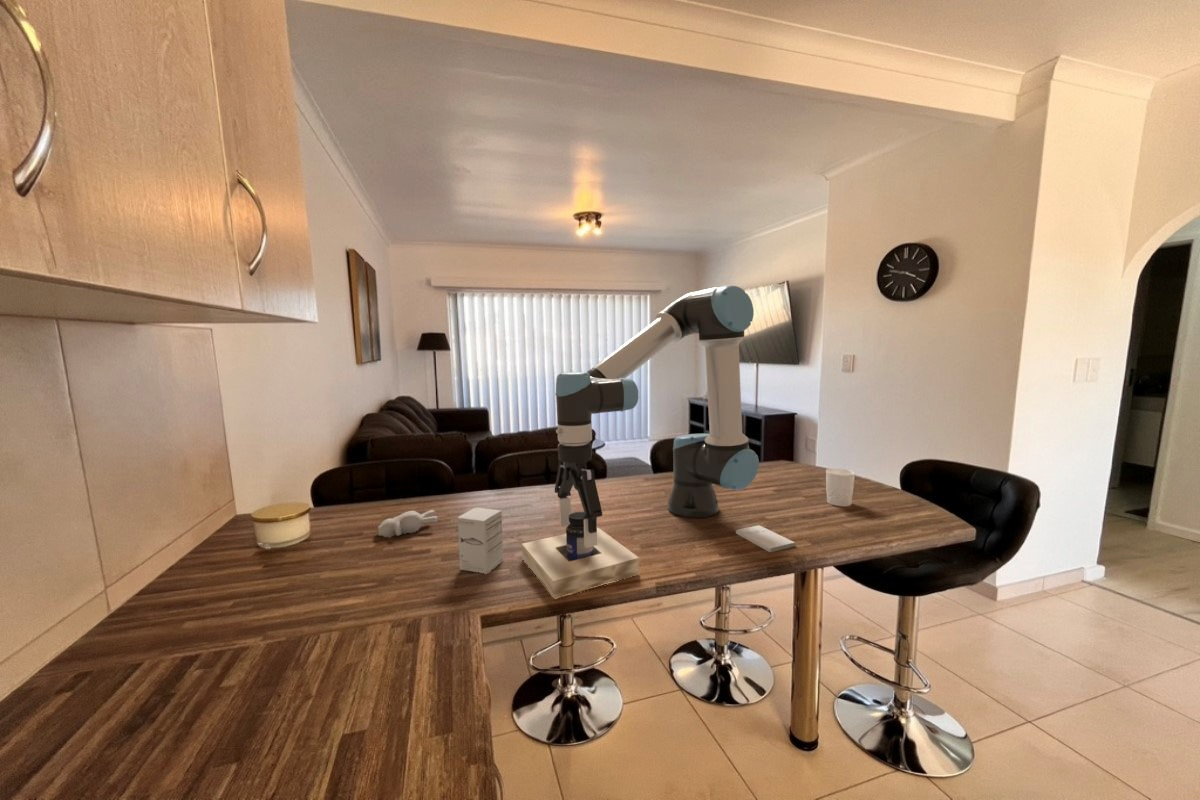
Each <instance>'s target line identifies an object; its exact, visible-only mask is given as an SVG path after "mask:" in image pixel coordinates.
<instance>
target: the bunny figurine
mask: <svg viewBox="0 0 1200 800" xmlns="http://www.w3.org/2000/svg"><path fill="white" fill-rule="evenodd" d="M435 514H436V511H435V509H429V510H428V511H425V512H424V513H420V512H417V511H416V510H409V511H405V512H402V513H401V514H400V515H398V516H397V515H396V516H394V517H393V518H390V517H389V518H386V519H384V520H383V521H382V522H381V523H380V525H378V526H377V531H378V532H377V533H378V536H379V537H383V538H386V537H389V538H391V537H390V536H393V537H394V536H397V537H398V536H401V535H403V534H404V535H407V534H406V533H410V534H412V533H417V532H418V531H419V530H420V529H421V527H422V525H423V524H434V523H436V522H438V516H437V515H435ZM416 531H417V532H416Z"/></svg>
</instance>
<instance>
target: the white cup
mask: <svg viewBox="0 0 1200 800" xmlns="http://www.w3.org/2000/svg"><path fill="white" fill-rule="evenodd" d="M855 476H856V473H855V472H854V471H853V470H849V469H846V468H834V467H833V468H832V467H831V468H827V469H825V487H826V489H825V490H826V502H827V503H828V504H829V505H832V506H836V507H850V506H851V505H852V501H853V494H854V489H855V488H854V486H855Z"/></svg>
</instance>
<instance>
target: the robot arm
mask: <svg viewBox="0 0 1200 800" xmlns="http://www.w3.org/2000/svg"><path fill="white" fill-rule="evenodd" d="M754 310H755V309H754V305H753V302H752V300H751V297H750V296H749V294H748V293H747V292H746V291H745V289H743V288H742V287H740V286H737V285H721V286H716V287H710V288H707V289H706V288H705V289H699V290H694V291H691V292H689V293H685V294H684V295H682V296H680V297H679V298H677V299H676V300H674V301H673V302H671V303H670V304H669V305H667V306H666V307H665V308H663V309H662V310H661V311H659V312H658V313H657V314H656V315H655V318H654V321H652V322H651V323H650V324H648V325H647V326H646V327H645V328H643V329H642V330H641V331H639V332H638V333H637V334H636V335H634V336H632V338H630V339H629V340H628V341H626V342H625V343H624V344H622V345H621V346H619V347H618V348H616V349H615V350H614V351H613V352H612V353H610V354H609V355H607V356H606V357H605V358H603V359H602V360H601V361H600V362H598V363H597V364H595V366H594V367H592V368H590V369H589V370H587V371H574V372H572V371H571V372H568V371H567V372H566V371H565V372H562V373H559V374H558V375H557V376H556V378H555V379H556V382H555V393H554V394H555V398H556V421H557V428H556V430H555V433H556V434H557V441H558V442H559V443H558V444H557V455H558V456H557V458H558V467H557V474H556V478H555V479H556V480H555V484H554V493H555V494H557V497H558V511H559V517H558V518H559V526H560V527H563V526H568V525H569V524H570V522H569V515H570V514H571V513H572V504H571V502H572V501H571V499H572V498H571V497H570V496H572V493H571V492H572V489H573V487H574V489H575V490H576V491H577V493H578V497H579V499H580V503H581V506H582V509H583V512H585V515H584V517H583V519H584V547H586V548H587V547H592V546H596V545H597V527H598V518H600V517H603V510H602V506H601V501H600V498H599V493H598V488H597V484H596V483H597V482H596V477H595V470H594V469H593V468H591V469H588V466H587V462H589V461H591V460H592V458H593V444H592V442H591V441H592V440H593V434H592V433H593V429H592V424H593V423H592V415H594V414H595V415H596V414H602V413H613V412H614V413H615V412H624V411H630V410H632V409H634V408H635V407H636V406H637V404H638V401H639V389H638V385H637V383H636V381H634V380H633V379H631V378H628V377H629V376H630V375H631V374H633V373H634V372H636V371H637V370H638V369H639V368H640V367H642V366H644V364H646V363H647V362H648V361H649V360H650V359H652V358H653V357H654V356H656V355H657V354H658V353H659V352H661V351H662V350H664V349H665V348H666V347H667V346H669V345H670V344H671V343H677V342H679V341H680V340H682V339H683V338H684V337H685V338H686V337H688V336H690V335H694V334H698V342H700V343H701V344H702V345H703V346H704V349H705V350H704V351H705V366H706V387H707V407H708V425H709V433H690V434H682V435H678V436H676V437H675V438H674V440H673V447H672V458H673V460H672V461H673V463H672V465H673V467H672V469H673V484H672V487H671V492H670V495H669V498H668V499H667V500H668V501H667V510H668V511H669V512H670V513H672V514H674V515H677V516H680V517H686V518H696V519H699V518H707V517H711V516H714V515H716V514H718V512H719V501H718V499H717V494H716V491H715V488H714V486H718V487H722V488H723V489H726V490H731V491H732V490H733V491H742V490H745V489H746V488H748V487H749V486H750V485H751V484H752V483H753V481H754V480H755V479H756V476H757V474H758V472H759V466H760V460H759V456H758V454H756V452H755V451H754V450H753V449H751V448H750V447H749V446H750V445H749V438H748V436H746V435H745V434H744V433H743V420H742V419H743V418H742V398H741V397H742V395H741V393H742V392H741V367H740V343H741V342H743V340H744V339H745V331H746V330H747V329H748V328H749V327H750V326H751V324H752V323H751V322H753V319H754V315H755V313H754Z"/></svg>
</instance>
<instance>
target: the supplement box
mask: <svg viewBox="0 0 1200 800" xmlns="http://www.w3.org/2000/svg"><path fill="white" fill-rule="evenodd" d="M502 516H503V513H502V510H501V509H493V508H492V509H491V508H483V507H474V508H472V509H470V510H468V511H466V512H464V513H463V514H461V515H459V516H458V517H457V531H458V533H457V534H458V552H459V555H458V556H459V567H460V568H459V569H460V570H461V571H467V572H468V571H469V572H474V573H478V572H479V573H480V574H483V573H484V574H483V575H488V574H490V572H491V570H492V569H493V570H494V569H495V568H496V567H498V566H499V565H500V564H501V563H503V561H504V543H503V541H504V540H503V539H504V538H503V517H502ZM498 564H499V565H498ZM497 565H498V566H497ZM493 570H492V571H493ZM479 573H478V574H479ZM487 573H488V574H487Z"/></svg>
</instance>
